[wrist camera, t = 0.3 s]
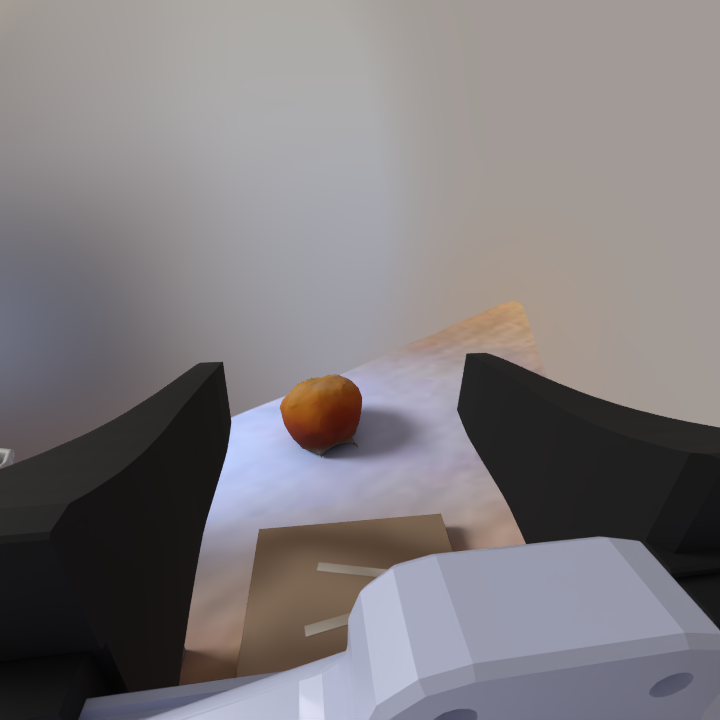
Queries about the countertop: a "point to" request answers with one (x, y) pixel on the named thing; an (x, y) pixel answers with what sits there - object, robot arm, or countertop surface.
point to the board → (321, 584)
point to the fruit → (322, 412)
